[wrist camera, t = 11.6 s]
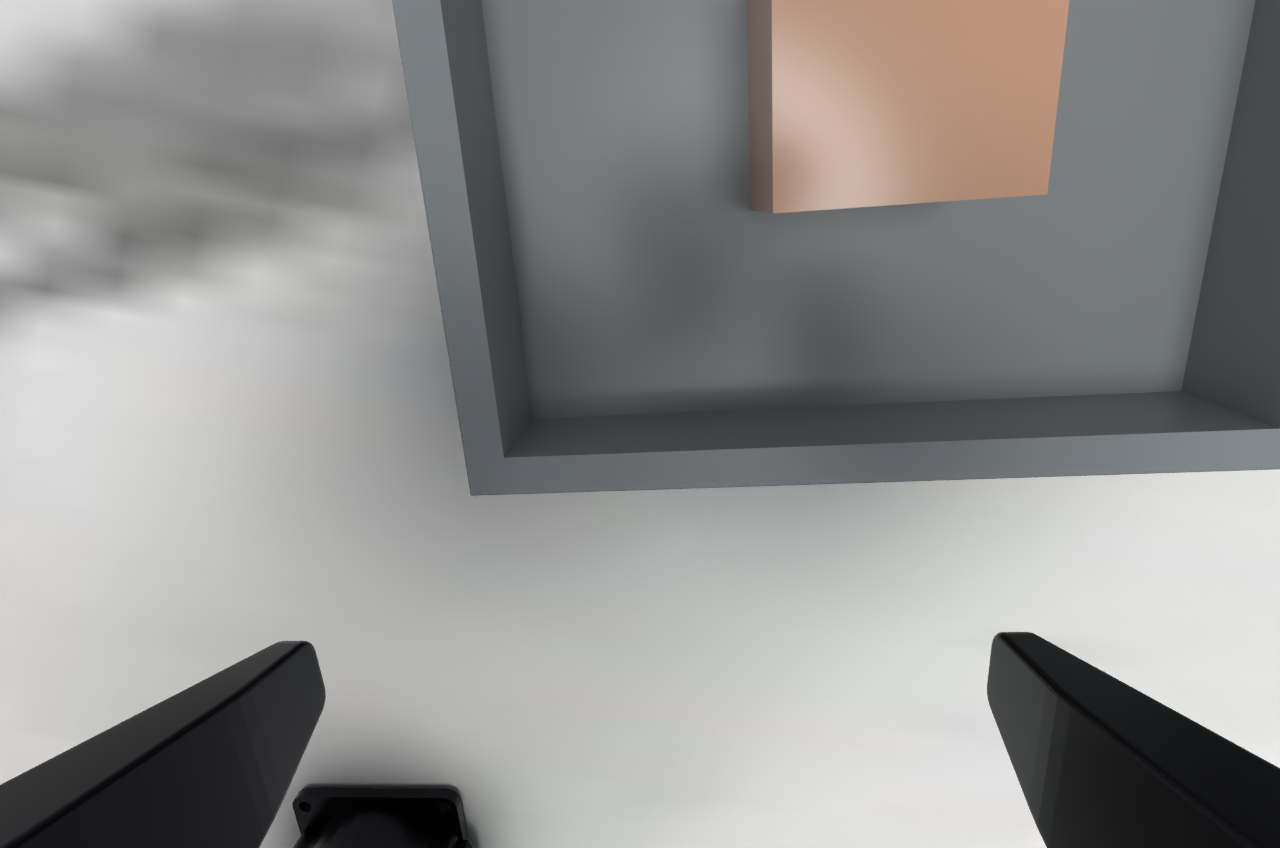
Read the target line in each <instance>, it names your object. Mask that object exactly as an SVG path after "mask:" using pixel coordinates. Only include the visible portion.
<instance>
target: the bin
mask: <svg viewBox="0 0 1280 848" xmlns="http://www.w3.org/2000/svg"><path fill="white" fill-rule="evenodd" d="M392 1H393V8H394V14H395V20H396V27H397V33H398V39H399V45H400V52H401V58H402V64H403V71H404V77H405V83H406V90H407V96H408V102H409V109H410V115H411V121H412V127H413V134H414V140H415V146H416V153H417V159H418V165H419V172H420V178H421V184H422V191H423V197H424V203H425V209H426V216H427V222H428V228H429V235H430V241H431V247H432V254H433V260H434V266H435V273H436V279H437V285H438V291H439V298H440V304H441V310H442V317H443V323H444V329H445V336H446V342H447V348H448V355H449V361H450V367H451V373H452V380H453V386H454V392H455V399H456V405H457V411H458V418H459V424H460V430H461V437H462V443H463V449H464V455H465V462H466V468H467V474H468V481H469V487H470V493H471V496H473V495H504V494H535V493H565V492H596V491H627V490H657V489H688V488H719V487H749V486H780V485H811V484H842V483H872V482H903V481H934V480H964V479H995V478H1026V477H1056V476H1087V475H1118V474H1148V473H1179V472H1210V471H1240V470H1271V469H1280V0H1069V9H1068V18H1067V27H1066V35H1065V44H1064V53H1063V62H1062V70H1061V79H1060V88H1059V97H1058V105H1057V114H1056V123H1055V132H1054V141H1053V149H1052V158H1051V167H1050V176H1049V184H1048V193H1047V194H1045V195H1031V196H1017V197H1002V198H988V199H974V200H959V201H945V202H930V203H916V204H902V205H887V206H873V207H858V208H844V209H830V210H815V211H801V212H786V213H766V212H757V211H751V197H750V135H749V72H748V9H747V0H392Z"/></svg>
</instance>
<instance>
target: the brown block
mask: <svg viewBox="0 0 1280 848" xmlns="http://www.w3.org/2000/svg"><path fill="white" fill-rule="evenodd" d="M747 9H748V72H749V135H750V197H751V211H757V212H766V213H786V212H801V211H815V210H830V209H844V208H858V207H873V206H887V205H902V204H916V203H930V202H945V201H959V200H974V199H988V198H1002V197H1017V196H1031V195H1045V194H1047V193H1048V184H1049V176H1050V167H1051V158H1052V149H1053V141H1054V132H1055V123H1056V114H1057V105H1058V97H1059V88H1060V79H1061V70H1062V62H1063V53H1064V44H1065V35H1066V27H1067V18H1068V9H1069V0H747Z"/></svg>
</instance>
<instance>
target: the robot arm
mask: <svg viewBox="0 0 1280 848" xmlns="http://www.w3.org/2000/svg"><path fill="white" fill-rule="evenodd" d="M987 695H988V700H989V705H990V708H991V710H992V713H993V716H994V718H995V721H996V723H997V726H998V728H999V731H1000V734H1001V736H1002V739H1003V741H1004V744H1005V747H1006V749H1007V752H1008V754H1009V757H1010V760H1011V762H1012V765H1013V767H1014V770H1015V772H1016V775H1017V778H1018V780H1019V783H1020V785H1021V788H1022V791H1023V793H1024V796H1025V798H1026V801H1027V804H1028V806H1029V809H1030V811H1031V813H1032V816H1033V818H1034V821H1035V823H1036V825H1037V828H1038V830H1039V832H1040V834H1041V836H1042V838H1043V840H1044V842H1045V844H1046V846H1047V848H1280V768H1278V767H1276V766H1275V765H1273V764H1271V763H1269V762H1267V761H1266V760H1264V759H1262V758H1260V757H1258V756H1256V755H1255V754H1253V753H1251V752H1249V751H1247V750H1245V749H1244V748H1242V747H1240V746H1238V745H1236V744H1234V743H1233V742H1231V741H1229V740H1227V739H1225V738H1224V737H1222V736H1220V735H1218V734H1216V733H1214V732H1213V731H1211V730H1209V729H1207V728H1205V727H1203V726H1202V725H1200V724H1198V723H1196V722H1194V721H1192V720H1191V719H1189V718H1187V717H1185V716H1183V715H1182V714H1180V713H1178V712H1176V711H1174V710H1172V709H1171V708H1169V707H1167V706H1165V705H1163V704H1161V703H1160V702H1158V701H1156V700H1154V699H1152V698H1150V697H1149V696H1147V695H1145V694H1143V693H1141V692H1140V691H1138V690H1136V689H1134V688H1132V687H1130V686H1129V685H1127V684H1125V683H1123V682H1121V681H1119V680H1118V679H1116V678H1114V677H1112V676H1110V675H1108V674H1107V673H1105V672H1103V671H1101V670H1099V669H1098V668H1096V667H1094V666H1092V665H1090V664H1088V663H1087V662H1085V661H1083V660H1081V659H1079V658H1077V657H1076V656H1074V655H1072V654H1070V653H1068V652H1066V651H1065V650H1063V649H1061V648H1059V647H1057V646H1056V645H1054V644H1052V643H1050V642H1048V641H1046V640H1045V639H1043V638H1041V637H1039V636H1037V635H1035V634H1033V633H1030V632H1001V633H998V634H997V635H996V636H995V637H994V639H993V642H992V648H991V656H990V665H989V674H988V683H987ZM325 697H326V696H325V686H324V683H323V679H322V675H321V671H320V667H319V663H318V659H317V655H316V651H315V649H314V647H313V645H312V644H311V643H309V642H307V641H281V642H277V643H275V644H273V645H271V646H269V647H267V648H265V649H263V650H261V651H259V652H257V653H255V654H253V655H252V656H250V657H248V658H246V659H244V660H242V661H240V662H238V663H236V664H234V665H232V666H230V667H228V668H226V669H224V670H222V671H220V672H219V673H217V674H215V675H213V676H211V677H209V678H207V679H205V680H203V681H201V682H199V683H197V684H195V685H193V686H191V687H189V688H187V689H186V690H184V691H182V692H180V693H178V694H176V695H174V696H172V697H170V698H168V699H166V700H164V701H162V702H160V703H158V704H156V705H154V706H153V707H151V708H149V709H147V710H145V711H143V712H141V713H139V714H137V715H135V716H133V717H131V718H129V719H127V720H125V721H123V722H121V723H120V724H118V725H116V726H114V727H112V728H110V729H108V730H106V731H104V732H102V733H100V734H98V735H96V736H94V737H92V738H90V739H88V740H87V741H85V742H83V743H81V744H79V745H77V746H75V747H73V748H71V749H69V750H67V751H65V752H63V753H61V754H59V755H57V756H55V757H54V758H52V759H50V760H48V761H46V762H44V763H42V764H40V765H38V766H36V767H34V768H32V769H30V770H28V771H26V772H24V773H22V774H21V775H19V776H17V777H15V778H13V779H11V780H9V781H7V782H5V783H3V784H1V785H0V848H259V847H260V845H261V843H262V841H263V839H264V838H265V836H266V834H267V832H268V830H269V828H270V826H271V824H272V822H273V820H274V818H275V816H276V814H277V812H278V810H279V808H280V806H281V804H282V801H283V799H284V797H285V795H286V793H287V790H288V788H289V786H290V783H291V781H292V779H293V777H294V774H295V772H296V770H297V767H298V765H299V763H300V761H301V758H302V756H303V754H304V751H305V749H306V747H307V745H308V742H309V740H310V738H311V736H312V733H313V731H314V729H315V726H316V724H317V722H318V720H319V717H320V715H321V713H322V710H323V707H324V703H325ZM445 803H446V804H445ZM293 809H294V812H295V815H296V819H297V822H298V826H299V829H300V832H301V836H300V838H299V839H298V841H297V843H296V844H295V846H294V848H474V846H473V844H472V843H471V841H470V840H468V836H467V830H466V825H465V820H464V815H463V810H462V805H461V799H460V797H459V795H458V794H457V793H456V792H454V791H452V790H448V789H372V788H305V789H302V790H301V791H300V792H299V793H298V795H297V797H296V798H295V800H294V801H293Z"/></svg>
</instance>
